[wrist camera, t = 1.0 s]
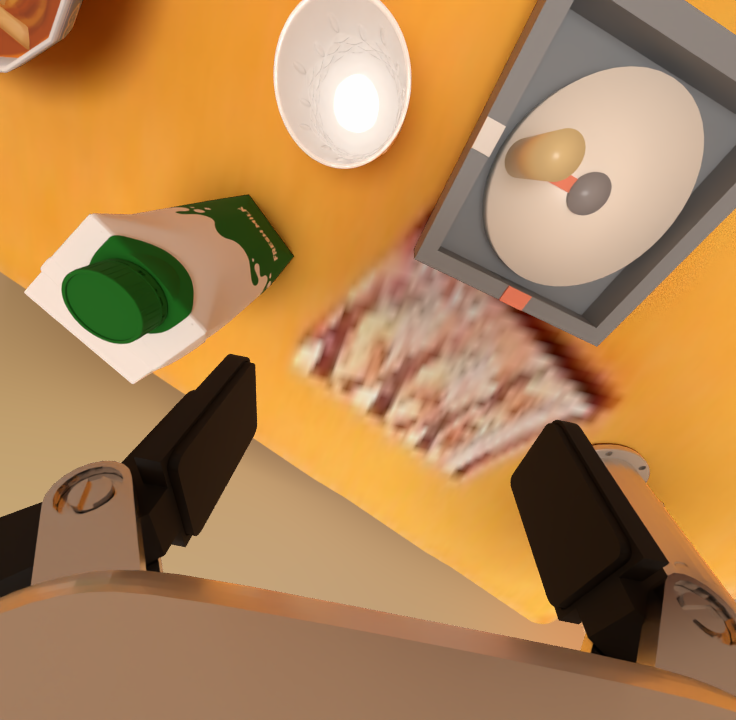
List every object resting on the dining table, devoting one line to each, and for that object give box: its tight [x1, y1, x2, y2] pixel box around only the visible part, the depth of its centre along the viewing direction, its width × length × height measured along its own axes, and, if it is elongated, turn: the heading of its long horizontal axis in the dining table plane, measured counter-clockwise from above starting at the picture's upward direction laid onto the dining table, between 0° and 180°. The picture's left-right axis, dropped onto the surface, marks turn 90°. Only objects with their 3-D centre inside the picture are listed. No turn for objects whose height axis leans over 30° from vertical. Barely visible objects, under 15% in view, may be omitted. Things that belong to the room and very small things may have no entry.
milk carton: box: [25, 195, 294, 384], centre depth 25 cm, size 9×9×20 cm
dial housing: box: [414, 0, 736, 346], centre depth 26 cm, size 20×20×4 cm
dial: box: [483, 66, 704, 286], centre depth 23 cm, size 15×15×9 cm
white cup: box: [274, 0, 411, 169], centre depth 22 cm, size 8×8×10 cm
